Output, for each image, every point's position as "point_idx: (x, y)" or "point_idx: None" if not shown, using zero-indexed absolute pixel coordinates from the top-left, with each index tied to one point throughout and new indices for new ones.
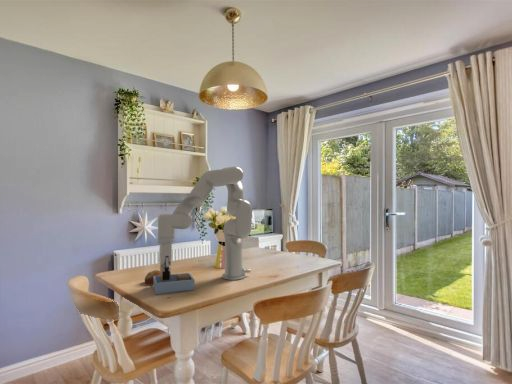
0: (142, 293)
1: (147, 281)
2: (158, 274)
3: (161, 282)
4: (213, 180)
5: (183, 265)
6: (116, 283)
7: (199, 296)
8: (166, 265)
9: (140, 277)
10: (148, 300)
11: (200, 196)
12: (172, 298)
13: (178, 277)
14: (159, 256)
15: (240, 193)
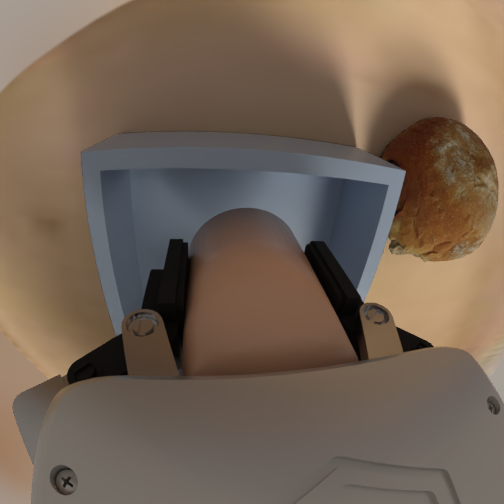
0: (203, 38)
1: (427, 127)
2: (430, 225)
3: (345, 215)
4: None
5: (499, 322)
6: (483, 3)
7: (59, 349)
8: (16, 415)
9: None
10: (29, 95)
11: None
12: (33, 241)
13: None
14: (426, 492)
15: None
